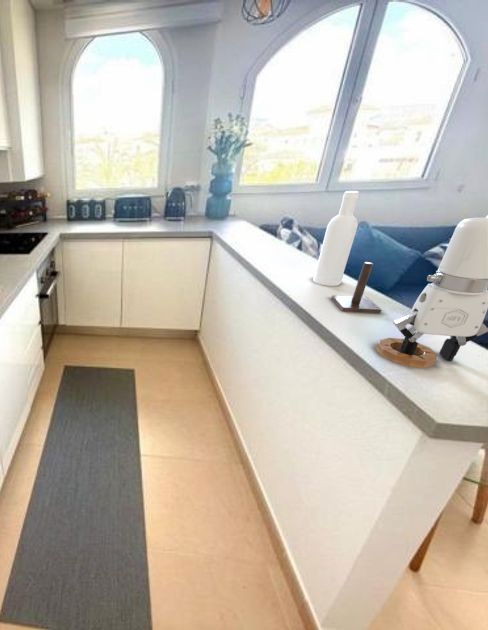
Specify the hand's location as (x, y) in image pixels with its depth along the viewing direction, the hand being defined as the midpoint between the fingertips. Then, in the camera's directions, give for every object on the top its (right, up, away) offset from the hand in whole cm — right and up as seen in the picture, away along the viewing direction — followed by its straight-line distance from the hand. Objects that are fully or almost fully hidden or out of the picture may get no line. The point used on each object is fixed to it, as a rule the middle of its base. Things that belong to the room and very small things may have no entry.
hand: (425, 355), depth 77 cm
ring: (-4, 0, +1) cm, 4 cm away
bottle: (+9, +20, +42) cm, 47 cm away
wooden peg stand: (+4, +12, +24) cm, 27 cm away
